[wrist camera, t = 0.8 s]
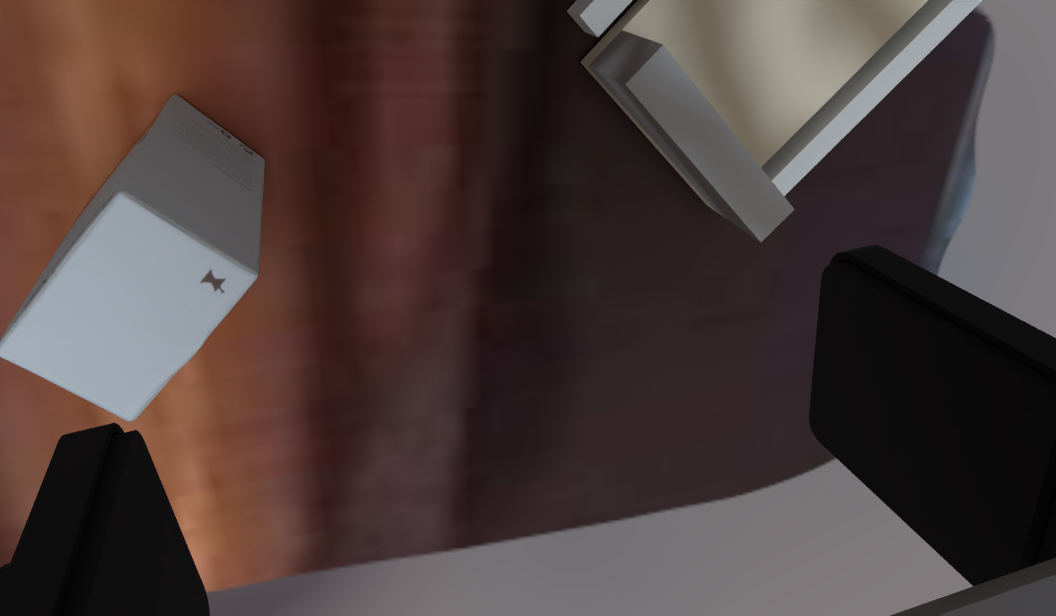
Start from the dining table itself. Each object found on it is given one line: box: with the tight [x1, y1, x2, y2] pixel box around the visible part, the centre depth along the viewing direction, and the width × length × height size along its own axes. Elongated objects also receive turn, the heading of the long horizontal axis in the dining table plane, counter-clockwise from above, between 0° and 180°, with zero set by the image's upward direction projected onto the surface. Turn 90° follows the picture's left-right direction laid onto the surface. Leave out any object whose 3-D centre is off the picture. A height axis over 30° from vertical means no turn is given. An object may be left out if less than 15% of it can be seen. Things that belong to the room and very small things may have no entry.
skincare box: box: [0, 95, 265, 422], centre depth 26 cm, size 6×4×12 cm
